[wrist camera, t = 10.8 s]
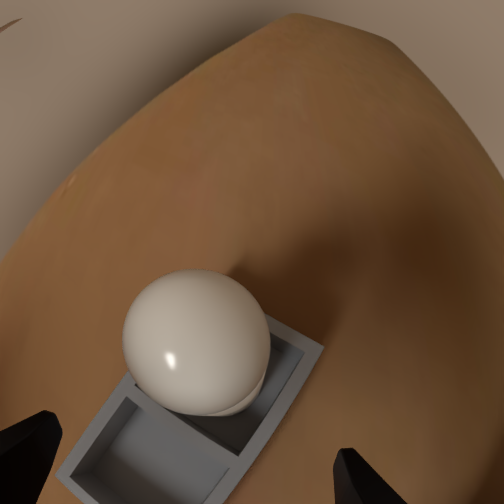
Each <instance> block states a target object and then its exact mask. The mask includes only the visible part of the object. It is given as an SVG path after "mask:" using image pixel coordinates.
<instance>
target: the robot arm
mask: <svg viewBox="0 0 504 504" xmlns="http://www.w3.org/2000/svg"><path fill="white" fill-rule="evenodd" d="M61 438H62V428H61V426H60V423H59V421H58V419H57V416H56V414H55V413H53V412H50V411H47V410H43V411H41V412H39V413H37V414H35V415H33V416H31V417H29V418H27V419H25V420H23V421H21V422H19V423H16V424H14V425H12V426H10V427H8V428H6V429H4V430H2V431H0V504H36V502H37V500H38V498H39V495H40V493H41V491H42V488H43V486H44V484H45V482H46V479H47V477H48V475H49V473H50V470H51V468H52V465H53V462H54V459H55V456H56V453H57V449H58V447H59V444H60V441H61ZM333 476H334V492H335V504H407V503H406V502H405V501H404V500H403V499H402V498H401V497H400V496H399V495H398V494H397V493H396V492H395V491H394V490H393V489H392V488H391V487H390V486H389V485H388V484H387V483H386V482H385V481H384V480H383V479H382V477H381V476H380V475H379V474H378V473H377V472H376V471H375V470H374V469H373V468H372V467H371V466H370V465H369V464H368V463H367V462H366V461H365V460H364V459H363V458H362V457H361V456H360V454H359V453H358V452H357V451H356V450H355V449H353V448H342V449H340V450H339V451H338V454H337V457H336V459H335V462H334V466H333Z"/></svg>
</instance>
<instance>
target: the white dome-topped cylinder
mask: <svg viewBox="0 0 504 504" xmlns="http://www.w3.org/2000/svg"><path fill="white" fill-rule="evenodd" d="M270 342H271V341H270V332H269V327H268V323H267V320H266V317H265V315H264V312H263V310H262V309H261V307H260V305H259V304H258V302H257V301H256V299H255V298H254V297H253V295H252V294H251V293H250V292H249V291H248V290H247V289H246V288H245V287H243V286H242V285H241V284H240V283H238V282H237V281H235V280H233V279H232V278H230V277H228V276H226V275H224V274H221V273H218V272H215V271H211V270H205V269H183V270H178V271H174V272H171V273H168V274H166V275H163V276H161V277H159V278H158V279H156V280H154V281H153V282H151V283H150V284H149V285H148V286H146V287H145V288H144V289H143V290H142V291H141V292H140V293H139V295H138V296H137V297H136V299H135V300H134V302H133V303H132V305H131V307H130V309H129V311H128V313H127V316H126V319H125V322H124V326H123V333H122V347H123V354H124V358H125V362H126V365H127V367H128V370H129V372H130V374H131V376H132V378H133V380H134V381H135V382H136V384H137V385H138V386H139V388H140V389H141V390H142V391H143V392H144V393H145V394H146V395H147V396H148V397H149V398H151V399H152V400H153V401H154V402H156V403H158V404H159V405H161V406H163V407H165V408H167V409H170V410H172V411H175V412H178V413H182V414H187V415H199V416H232V415H236V414H239V413H241V412H243V411H245V410H246V409H248V408H249V407H250V406H251V405H252V404H253V403H254V402H255V400H256V399H257V397H258V395H259V393H260V390H261V387H262V383H263V380H264V376H265V372H266V369H267V365H268V361H269V356H270Z"/></svg>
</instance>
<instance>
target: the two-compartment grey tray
mask: <svg viewBox="0 0 504 504" xmlns="http://www.w3.org/2000/svg"><path fill="white" fill-rule="evenodd" d="M264 315H265V317H266V320H267V323H268V327H269V332H270V341H271V342H270V356H269V361H268V365H267V369H266V372H265V376H264V380H263V383H262V387H261V390H260V393H259V395H258V397H257V399H256V400H255V402H254V403H253V404H252V405H251V406H250V407H249V408H248V409H246V410H245V411H243V412H241V413H239V414H236V415H232V416H199V415H187V414H182V413H178V412H175V411H172V410H170V409H167V408H165V407H163V406H161V405H159V404H158V403H156V402H154V401H153V400H152V399H151V398H149V397H148V396H147V395H146V394H145V393H144V392H143V391H142V390H141V389H140V388H139V386H138V385H137V384H136V382H135V381H134V380H133V378H132V376H131V374H130V372H129V370H128V371H127V373H126V374H125V376H124V377H123V378H122V380H121V381H120V382H119V384H118V385H117V387H116V388H115V389H114V391H113V392H112V394H111V395H110V396H109V398H108V399H107V401H106V402H105V403H104V405H103V406H102V408H101V409H100V410H99V412H98V413H97V415H96V416H95V418H94V419H93V420H92V422H91V423H90V425H89V426H88V427H87V429H86V430H85V432H84V433H83V435H82V436H81V438H80V439H79V440H78V442H77V443H76V445H75V446H74V448H73V449H72V451H71V452H70V453H69V455H68V456H67V458H66V459H65V461H64V462H63V464H62V465H61V467H60V468H59V470H58V471H57V473H56V474H55V476H56V477H57V478H58V479H59V480H60V481H61V482H62V483H63V484H64V485H65V486H66V487H67V488H68V489H69V490H70V491H71V492H72V493H73V494H74V495H75V496H76V497H78V498H79V499H80V500H81V501H82V502H83V503H84V504H222V503H223V502H224V501H225V500H226V498H227V497H228V496H229V494H230V493H231V492H232V490H233V489H234V488H235V486H236V485H237V484H238V482H239V481H240V480H241V478H242V477H243V476H244V474H245V473H246V471H247V470H248V469H249V467H250V466H251V464H252V463H253V462H254V460H255V459H256V457H257V456H258V454H259V453H260V452H261V450H262V449H263V447H264V446H265V444H266V443H267V441H268V440H269V438H270V437H271V435H272V434H273V432H274V431H275V429H276V428H277V426H278V424H279V423H280V421H281V420H282V418H283V417H284V415H285V413H286V412H287V410H288V409H289V407H290V405H291V404H292V402H293V401H294V399H295V397H296V396H297V394H298V392H299V391H300V389H301V387H302V386H303V384H304V382H305V381H306V379H307V377H308V375H309V374H310V372H311V370H312V368H313V367H314V365H315V363H316V361H317V360H318V358H319V356H320V354H321V352H322V351H323V349H324V346H322V345H320V344H319V343H317V342H315V341H313V340H311V339H310V338H308V337H306V336H304V335H302V334H301V333H299V332H297V331H295V330H293V329H292V328H290V327H288V326H286V325H285V324H283V323H281V322H279V321H278V320H276V319H274V318H272V317H271V316H269V315H267V314H265V313H264Z"/></svg>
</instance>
